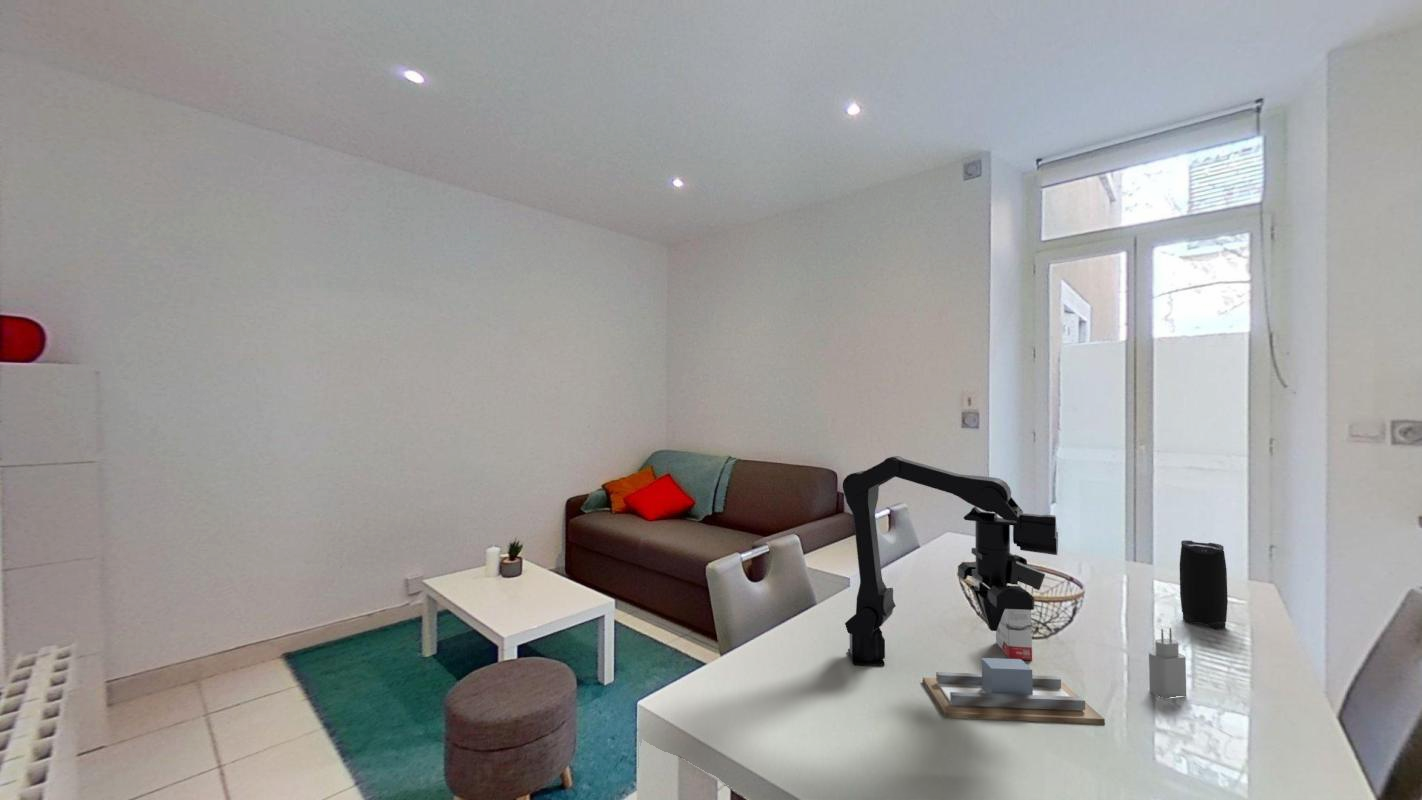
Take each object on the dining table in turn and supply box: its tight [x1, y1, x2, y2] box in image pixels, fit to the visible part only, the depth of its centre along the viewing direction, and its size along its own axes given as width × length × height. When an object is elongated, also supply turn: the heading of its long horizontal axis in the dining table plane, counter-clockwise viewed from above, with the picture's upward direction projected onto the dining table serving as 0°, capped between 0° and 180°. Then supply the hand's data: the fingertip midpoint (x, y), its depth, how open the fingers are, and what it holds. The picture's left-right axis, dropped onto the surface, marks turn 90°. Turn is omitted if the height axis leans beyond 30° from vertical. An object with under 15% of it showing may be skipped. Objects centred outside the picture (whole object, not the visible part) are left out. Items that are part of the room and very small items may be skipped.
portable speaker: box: [1179, 539, 1229, 630], centre depth 130 cm, size 9×9×20 cm
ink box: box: [995, 609, 1033, 661], centre depth 116 cm, size 9×5×12 cm, turn 168°
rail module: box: [981, 657, 1033, 695], centre depth 96 cm, size 7×4×6 cm, turn 85°
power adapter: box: [1148, 627, 1187, 699], centre depth 98 cm, size 3×5×12 cm, turn 101°
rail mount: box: [922, 671, 1106, 725], centre depth 96 cm, size 26×12×3 cm, turn 85°
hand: (992, 630), depth 98 cm, fingers closed
